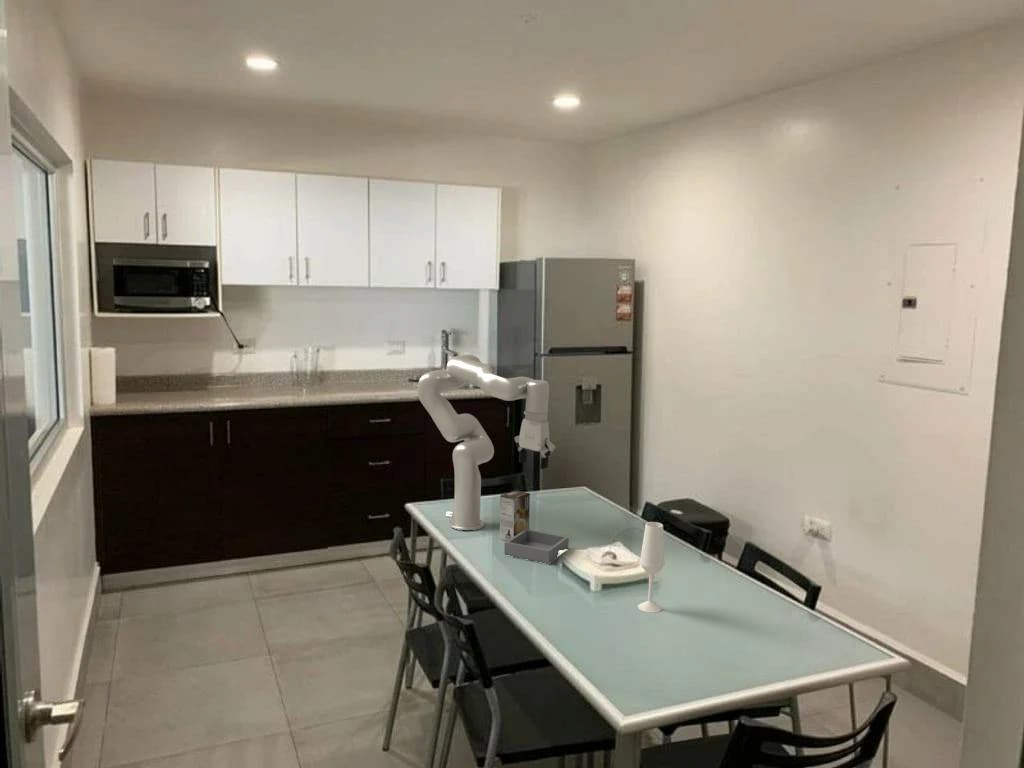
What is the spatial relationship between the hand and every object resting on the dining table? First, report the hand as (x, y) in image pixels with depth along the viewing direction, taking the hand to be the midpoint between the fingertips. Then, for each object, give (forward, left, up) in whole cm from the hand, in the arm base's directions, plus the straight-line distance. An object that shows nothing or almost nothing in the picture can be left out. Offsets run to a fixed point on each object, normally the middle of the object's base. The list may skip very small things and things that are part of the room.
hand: (533, 465), depth 265 cm
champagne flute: (+53, -33, -27) cm, 68 cm away
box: (+7, -10, -27) cm, 29 cm away
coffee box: (-6, -1, -27) cm, 28 cm away
